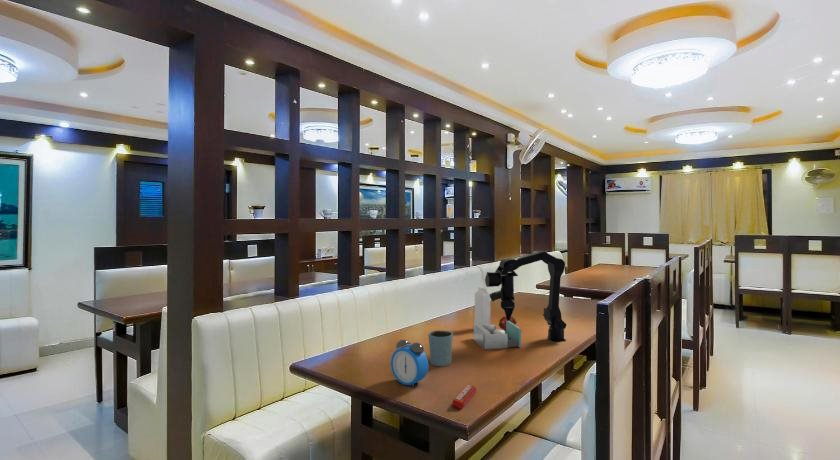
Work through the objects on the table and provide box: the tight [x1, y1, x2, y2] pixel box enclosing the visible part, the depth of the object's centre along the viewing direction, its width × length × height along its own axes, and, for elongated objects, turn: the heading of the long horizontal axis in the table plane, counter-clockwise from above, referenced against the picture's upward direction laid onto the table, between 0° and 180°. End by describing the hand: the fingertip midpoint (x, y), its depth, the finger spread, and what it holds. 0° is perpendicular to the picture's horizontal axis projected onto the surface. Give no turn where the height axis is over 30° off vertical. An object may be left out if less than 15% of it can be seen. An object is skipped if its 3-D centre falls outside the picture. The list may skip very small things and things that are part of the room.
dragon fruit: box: [498, 315, 517, 332], centre depth 215 cm, size 8×8×12 cm
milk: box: [474, 287, 491, 325], centre depth 218 cm, size 6×6×22 cm
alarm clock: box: [390, 339, 429, 388], centre depth 146 cm, size 13×6×15 cm, turn 53°
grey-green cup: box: [427, 330, 454, 367], centre depth 167 cm, size 10×10×12 cm
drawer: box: [490, 320, 522, 348], centre depth 193 cm, size 11×17×8 cm, turn 8°
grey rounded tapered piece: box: [494, 328, 506, 334], centre depth 193 cm, size 5×5×4 cm
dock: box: [472, 323, 509, 350], centre depth 192 cm, size 11×17×7 cm, turn 8°
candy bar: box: [452, 383, 477, 410], centre depth 132 cm, size 16×4×3 cm, turn 154°
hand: (508, 318), depth 194 cm, fingers open, 9 cm apart
